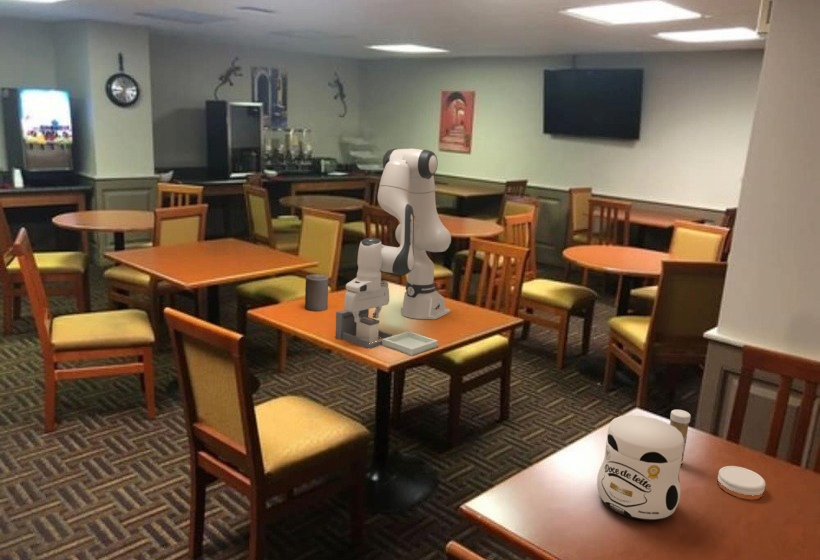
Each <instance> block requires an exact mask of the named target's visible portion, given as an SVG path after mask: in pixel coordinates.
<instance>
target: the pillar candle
mask: <svg viewBox="0 0 820 560" xmlns="http://www.w3.org/2000/svg"><path fill="white" fill-rule="evenodd" d="M329 278H330V277H329V276H327V275H325V274H308V275H306V276H305V289H304V291H305V293H304V294H305V295H304V297H305V298H304V309H305V310H306V309H307V310H306V311H310V312H323V311H322V310H324V311H327V310H328V305H329V303H328V301H329ZM326 309H327V310H326Z"/></svg>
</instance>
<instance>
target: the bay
mask: <svg viewBox="0 0 820 560" xmlns="http://www.w3.org/2000/svg"><path fill="white" fill-rule="evenodd" d="M369 310H370V309H366V310H361V311H359V314H358V316H359V317H364V316H367V317H369ZM354 320H355V317H354V315H353V313H351V312H348V311H346V310H345V309H341V310H337V311H336V312H335V338H336V339H339V340H344V341H346V342H349V343H351V342H352V344H354V345H357V344H358V346H360V345H361V346H360V347H362V346H363V347H362V348H366V349H368V348H370V349H373V348H377V347H380V346H382V339H384V338H388V337H391V336H393V334H392V333H389V332H386V331H383V330H380V329H379V331H378V338H380V337H381V338H380V339H381V340H378V341H377V342H373V343H370V344H369V341H367V340H364V339H362V338H359V337H356V326H357V323H356V322H355V321H354ZM354 335H355V336H354ZM379 345H380V346H379ZM376 346H377V347H376ZM372 347H373V348H372Z"/></svg>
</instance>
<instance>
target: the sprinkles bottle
mask: <svg viewBox="0 0 820 560" xmlns="http://www.w3.org/2000/svg"><path fill="white" fill-rule="evenodd" d="M691 418H692V417H691V414H690V413H689V412H688V411H686V410H683V409H673V410H671V412H670V418H669V419H670V422H669V424H670V425H672V426H674V427H675V428H676V429H678V430H679V431H680V432H681V433H682V436H683V440H684V444H683V452H682V460H681V462H682V461H683V462H684V456H685V451H686V444H687V438H688V432H689V431H688V430H689V424H690V422H691Z"/></svg>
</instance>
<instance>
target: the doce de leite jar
mask: <svg viewBox="0 0 820 560" xmlns="http://www.w3.org/2000/svg"><path fill="white" fill-rule="evenodd" d="M606 434H607V435H606V437H607V439H606V443H605V452H604V458H603V461H602V462H601V465H600V467H599V469H598V473H597V480H596V481H597V483H596V486H597V493H598V496H599V497H600V499H601V500H602V502H603V503H604V504H605V505H606V506H608V507H609V508H610V509H612V510H613V511H614V512H616V513H618V514H620V513H621V515H623V516H624V515H625V516H624V517H626V518H630V519H631V518H632V519H635V520H638V521H649V522H650V521H652V522H653V521H658V520H659V521H660V520H665V519H667V518H669V517H670V516H672V515H673V514H674V513H675V511H676V509H677V508H678V506H679V505H678V504H679V502H680V499H681V490H682V489H681V484H680V469H681V466H682V465H681V460H682V452H683V444H684V440H683V436H682V433H681V432H680V431H679V430H678V429H676V428H675V427H674V426H672V425H670V423H668V422H666V421H663V420H660V419H658V418H654V417H649V416H645V415H635V414H634V415H633V414H631V415H629V414H628V415H621V416H618V417H615V418H613V419H612V420H611V421H610V423H609V425H608V430H607V432H606Z"/></svg>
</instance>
